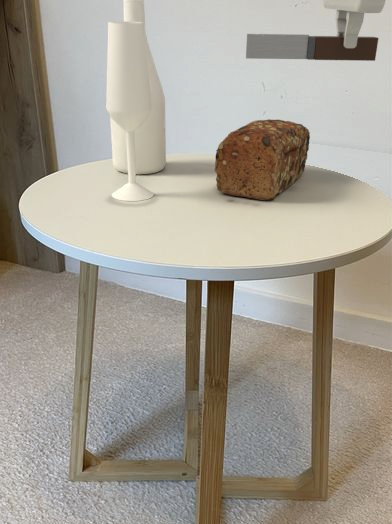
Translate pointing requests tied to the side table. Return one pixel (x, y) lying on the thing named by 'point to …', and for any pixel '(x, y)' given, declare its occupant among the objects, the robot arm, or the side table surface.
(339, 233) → the side table surface
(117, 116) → the champagne flute
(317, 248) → the side table surface
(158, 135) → the wine bottle
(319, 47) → the knife
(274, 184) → the bread
